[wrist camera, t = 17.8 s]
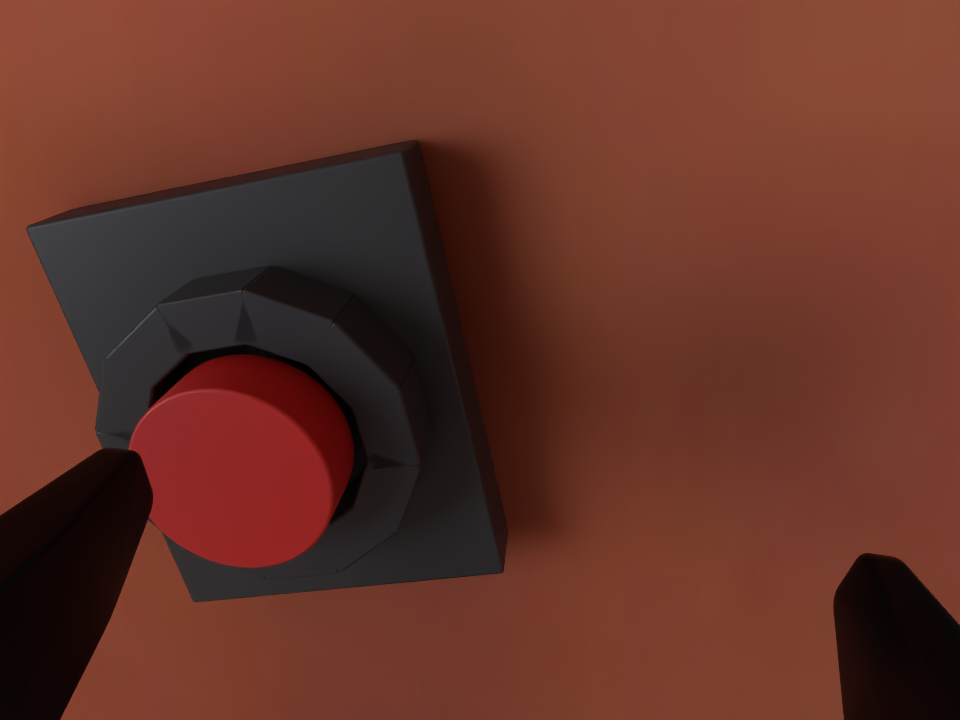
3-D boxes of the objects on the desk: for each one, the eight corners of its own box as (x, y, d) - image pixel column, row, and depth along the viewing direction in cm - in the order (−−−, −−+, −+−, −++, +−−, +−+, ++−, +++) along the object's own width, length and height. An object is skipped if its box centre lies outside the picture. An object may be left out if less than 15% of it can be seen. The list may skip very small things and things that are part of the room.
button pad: (508, 531, 21) (499, 621, 18) (219, 561, 23) (163, 649, 20) (418, 138, 17) (384, 164, 14) (70, 209, 18) (-32, 247, 15)
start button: (377, 510, 17) (358, 559, 16) (205, 529, 18) (171, 577, 17) (323, 338, 16) (296, 374, 14) (138, 368, 17) (92, 404, 15)
